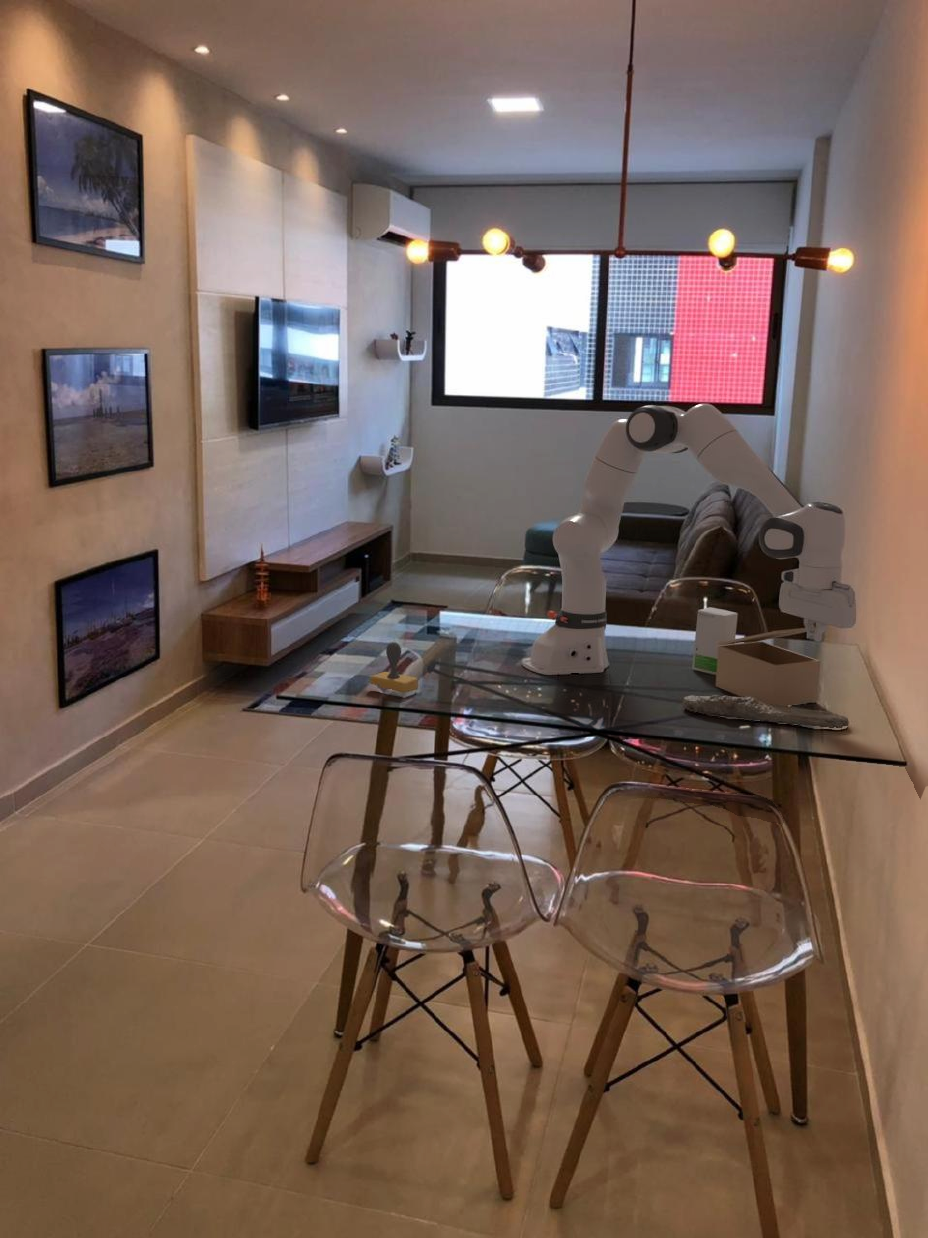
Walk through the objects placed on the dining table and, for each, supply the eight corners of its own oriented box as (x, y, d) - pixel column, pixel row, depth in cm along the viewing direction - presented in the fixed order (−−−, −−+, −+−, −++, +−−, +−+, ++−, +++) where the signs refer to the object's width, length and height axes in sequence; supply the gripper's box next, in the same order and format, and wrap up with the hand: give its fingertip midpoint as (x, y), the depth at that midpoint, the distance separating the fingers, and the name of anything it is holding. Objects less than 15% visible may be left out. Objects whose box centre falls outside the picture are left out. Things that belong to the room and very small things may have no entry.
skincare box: (691, 670, 271) (695, 610, 268) (705, 665, 276) (708, 606, 273) (720, 676, 266) (725, 615, 262) (734, 671, 271) (738, 611, 267)
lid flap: (776, 633, 236) (775, 630, 236) (718, 645, 255) (718, 642, 255) (821, 628, 241) (820, 626, 241) (761, 640, 260) (761, 638, 260)
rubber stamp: (369, 691, 248) (369, 641, 245) (384, 686, 252) (384, 636, 250) (403, 699, 242) (403, 647, 240) (418, 693, 247) (419, 643, 245)
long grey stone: (845, 743, 222) (847, 732, 231) (849, 719, 221) (850, 708, 230) (677, 713, 234) (685, 703, 243) (680, 690, 233) (688, 681, 242)
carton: (771, 709, 239) (775, 665, 237) (715, 686, 257) (718, 645, 255) (816, 702, 245) (820, 660, 242) (758, 680, 262) (761, 641, 260)
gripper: (866, 585, 224) (860, 649, 227) (798, 569, 242) (793, 629, 245) (843, 587, 221) (837, 652, 224) (776, 571, 239) (771, 631, 242)
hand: (814, 640), depth 235 cm, fingers closed
